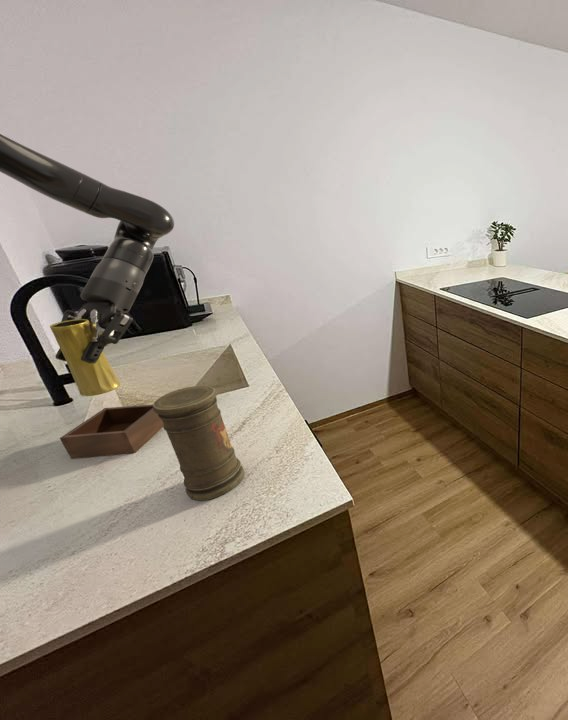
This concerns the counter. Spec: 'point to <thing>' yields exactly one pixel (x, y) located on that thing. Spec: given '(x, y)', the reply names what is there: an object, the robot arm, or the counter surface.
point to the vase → (86, 375)
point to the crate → (113, 432)
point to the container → (200, 441)
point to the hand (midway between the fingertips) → (75, 360)
